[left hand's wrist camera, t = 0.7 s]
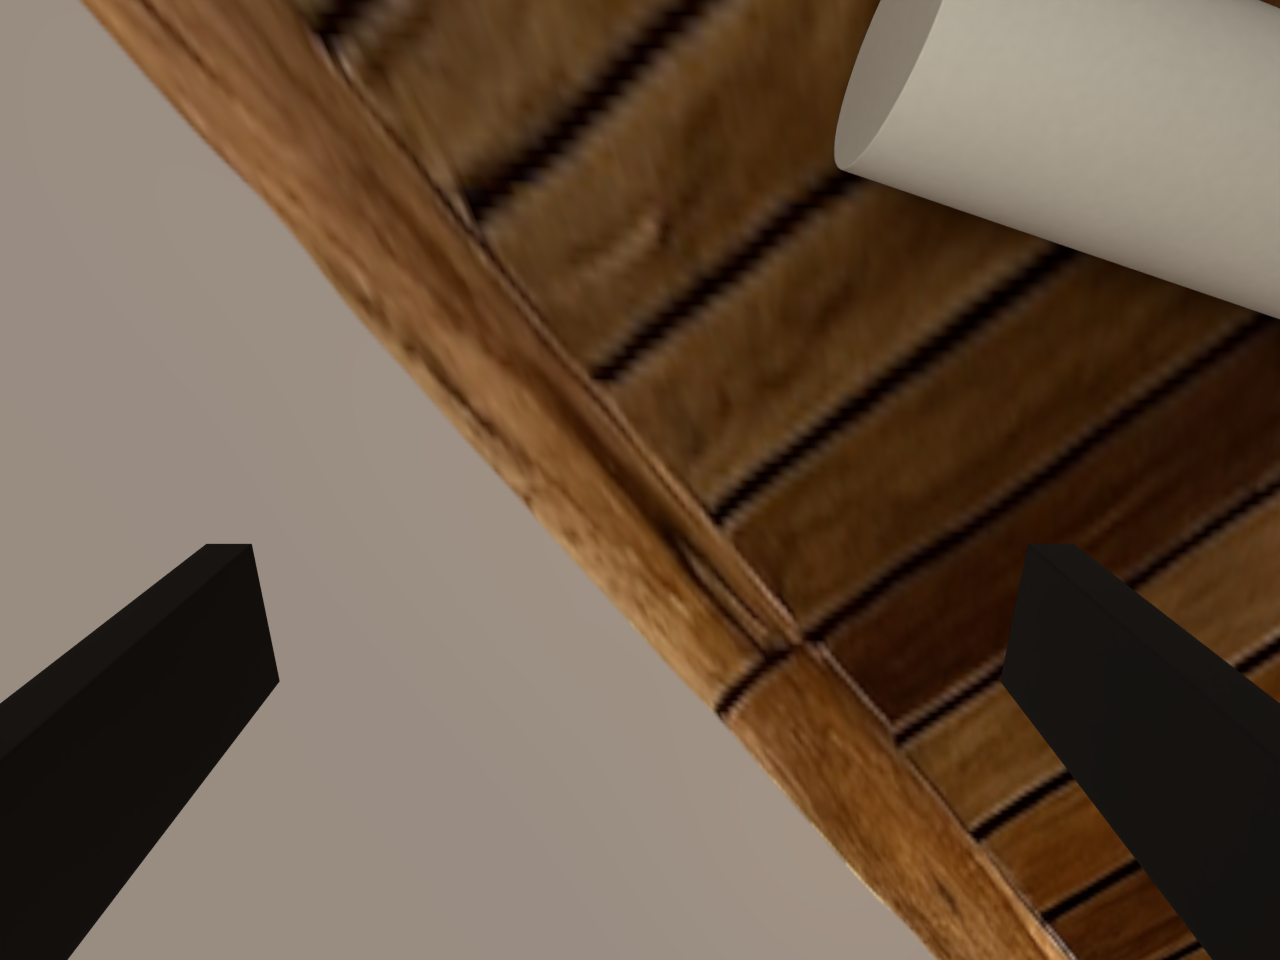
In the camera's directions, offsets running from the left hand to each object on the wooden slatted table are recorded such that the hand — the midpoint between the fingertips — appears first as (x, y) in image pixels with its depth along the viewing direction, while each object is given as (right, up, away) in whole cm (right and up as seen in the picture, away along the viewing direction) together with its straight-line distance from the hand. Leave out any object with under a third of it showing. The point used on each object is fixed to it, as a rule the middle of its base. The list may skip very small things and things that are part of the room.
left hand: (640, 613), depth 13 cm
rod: (+21, +15, +18) cm, 32 cm away
